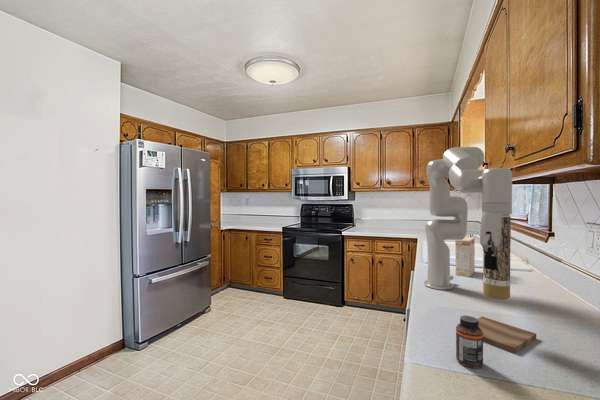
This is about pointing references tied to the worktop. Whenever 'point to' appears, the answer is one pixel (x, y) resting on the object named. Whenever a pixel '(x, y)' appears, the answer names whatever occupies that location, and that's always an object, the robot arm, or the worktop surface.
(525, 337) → the board
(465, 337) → the supplement bottle
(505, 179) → the robot arm
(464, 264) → the coffeecake box
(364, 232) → the worktop surface
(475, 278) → the worktop surface
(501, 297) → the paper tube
